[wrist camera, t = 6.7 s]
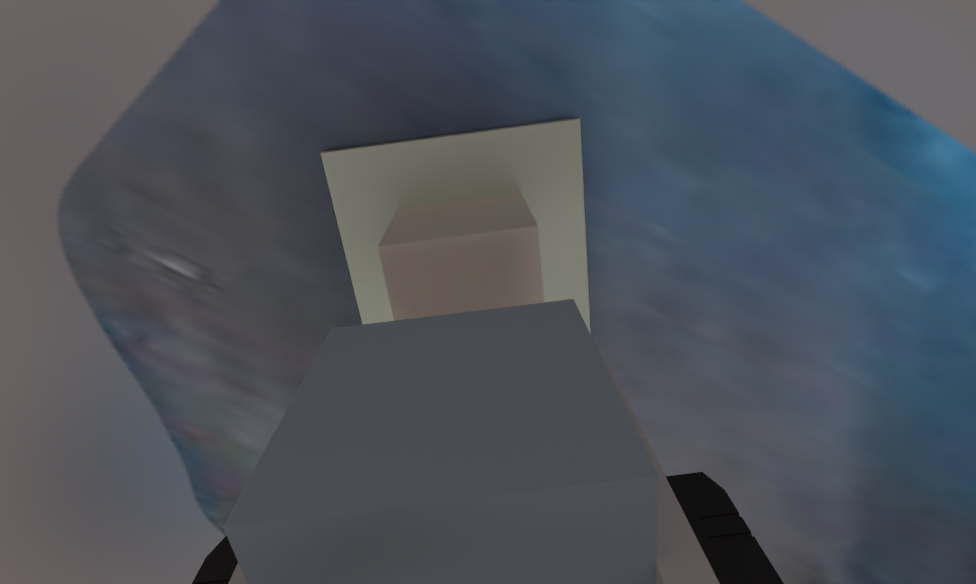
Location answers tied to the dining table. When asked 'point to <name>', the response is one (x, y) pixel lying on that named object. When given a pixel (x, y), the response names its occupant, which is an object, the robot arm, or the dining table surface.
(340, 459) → the block
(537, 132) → the plate
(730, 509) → the robot arm
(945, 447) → the dining table surface
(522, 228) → the block
